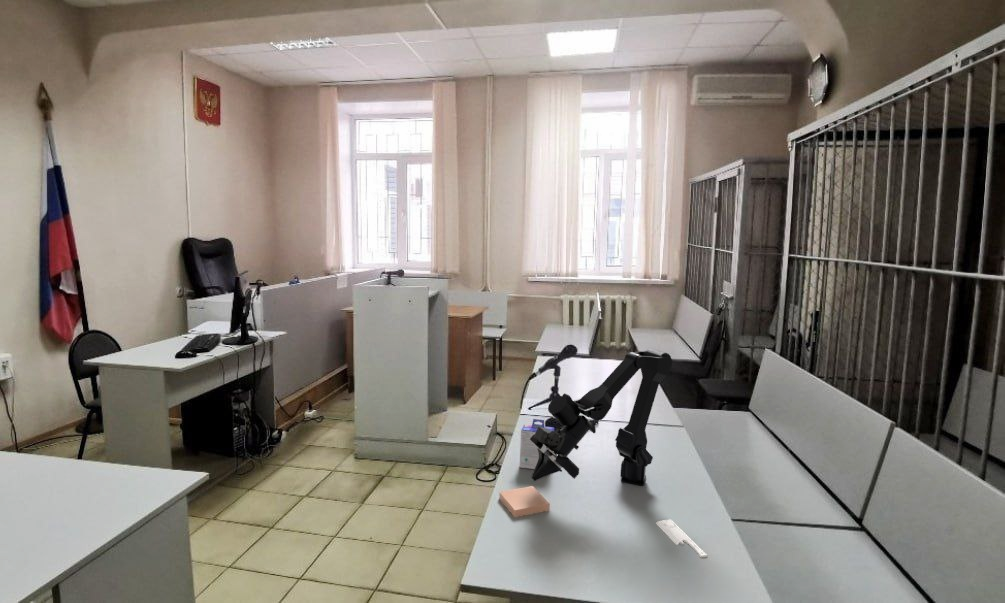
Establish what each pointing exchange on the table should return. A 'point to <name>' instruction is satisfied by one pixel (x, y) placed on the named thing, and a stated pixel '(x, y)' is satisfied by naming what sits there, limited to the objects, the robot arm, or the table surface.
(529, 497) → the tile
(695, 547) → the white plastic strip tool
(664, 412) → the table surface
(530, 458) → the ink cartridge box
